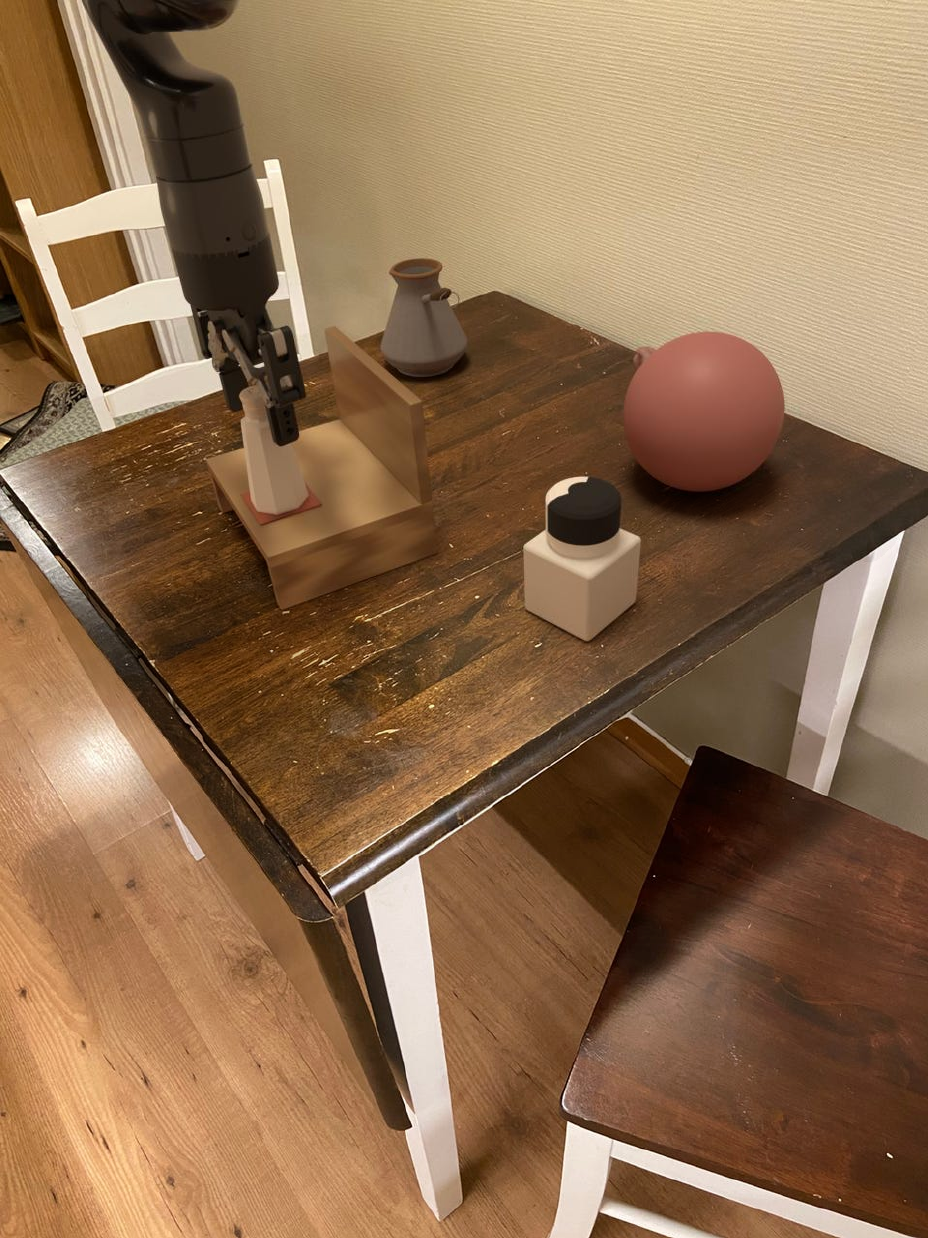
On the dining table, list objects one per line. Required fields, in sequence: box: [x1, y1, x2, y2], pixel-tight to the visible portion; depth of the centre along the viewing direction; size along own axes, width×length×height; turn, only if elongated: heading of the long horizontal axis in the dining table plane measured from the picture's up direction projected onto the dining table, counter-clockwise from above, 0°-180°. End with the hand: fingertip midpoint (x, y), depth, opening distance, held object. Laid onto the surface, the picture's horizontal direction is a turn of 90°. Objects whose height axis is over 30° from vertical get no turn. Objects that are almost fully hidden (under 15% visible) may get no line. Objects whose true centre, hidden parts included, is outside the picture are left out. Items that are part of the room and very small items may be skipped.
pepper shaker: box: [239, 384, 309, 515], centre depth 79 cm, size 5×5×11 cm
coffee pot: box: [379, 257, 468, 378], centre depth 109 cm, size 21×12×15 cm, turn 17°
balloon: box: [622, 331, 786, 493], centre depth 89 cm, size 15×20×15 cm
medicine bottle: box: [523, 476, 642, 642], centre depth 74 cm, size 7×7×12 cm
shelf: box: [205, 325, 439, 611], centre depth 84 cm, size 16×20×16 cm
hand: (263, 424), depth 78 cm, fingers open, 8 cm apart
